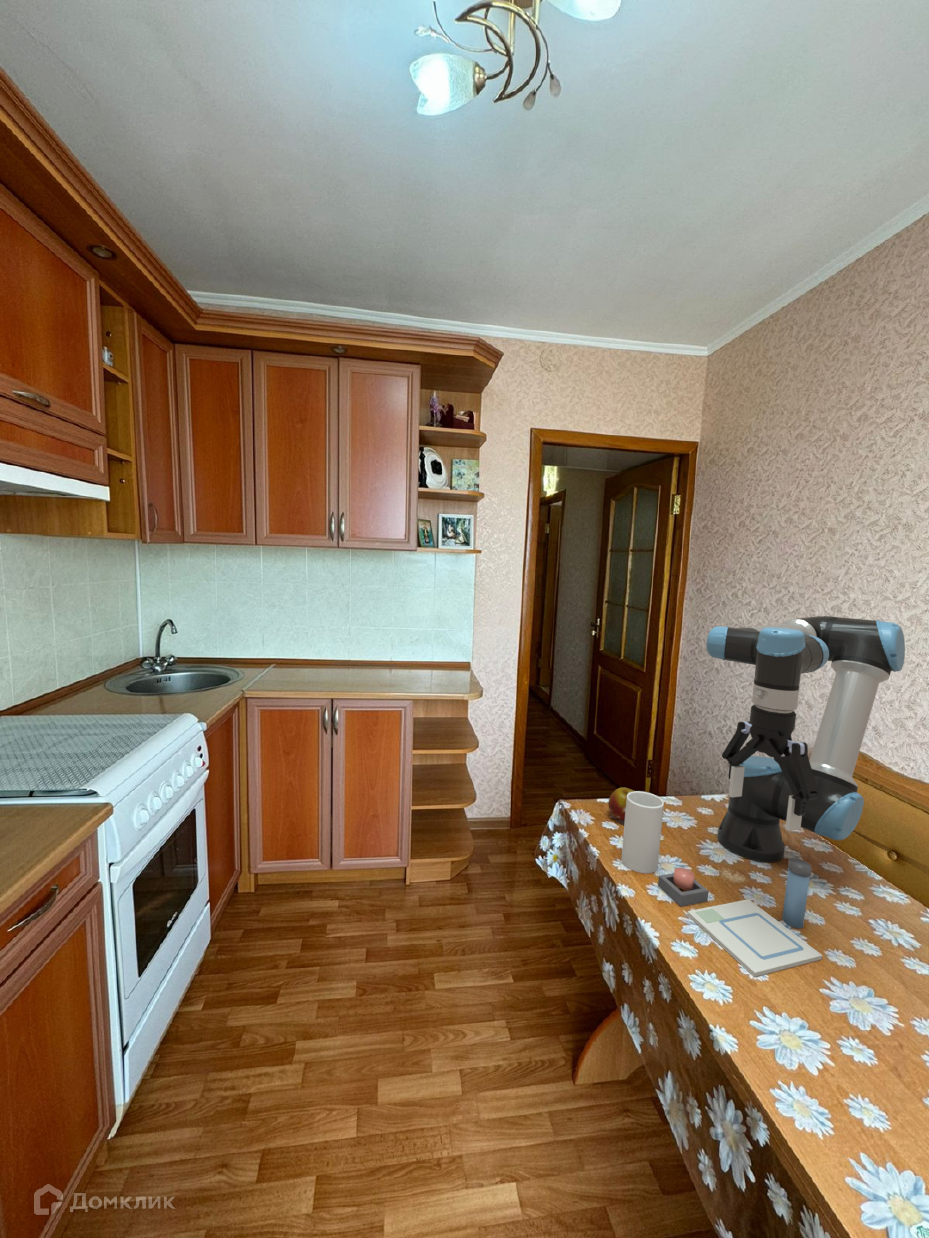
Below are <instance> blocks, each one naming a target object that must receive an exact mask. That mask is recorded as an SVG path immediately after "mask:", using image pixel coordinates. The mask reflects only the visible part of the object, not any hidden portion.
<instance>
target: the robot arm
mask: <svg viewBox="0 0 929 1238" xmlns="http://www.w3.org/2000/svg"><path fill="white" fill-rule="evenodd" d="M705 646H706V652H707V653H708V654H709V656H710V657H711V658H713V659H714V658H715V659H718V660H722V661H728V662H735V663H741V664H746V665H753V666H755V667H754V668H755V670H754V679H753V687H752V698H751V702H752V705H751V706H750V714H749V720H747V721H739V722H737V725H736V726H737V727H736V731H735V733H734V734H733V735H732V738H731V739H730V741H728V744H727V745H726V747H725V748H724V750H723V752H722V754H721V757H722V759H724V760H726V761H727V763H728V765H729V767H728V779H729V786H728V804H727V811H726V813H725V815H724V817H723V818H722V821H721V822H720V824H719V826H718V829H717V836H716V837H717V841H718V842H719V843H720V845H722V847H724V848H726V850H728V851H730V852H731V853H734V854H735V855H738V856H740V857H742V858H746V859H748V860H753V861H755V862H763V863H776V862H779V861H781V860H783V859H784V857H785V850H786V845H785V842H784V840H783V836H782V830H781V825H780V821H784V822H785V831H788V832H794V831H799V830H801V829H805V830H807V831H809V832H812V833H814V834H816V835H818V836H821V837H822V836H823V837H825V838H828V839H831V840H834V841H843V840H845V839H846V838H848V837H849V836H850V835H851V834H852V833H853V831H854V830H855V829H856V827H857V825H858V824H859V821H860V819H861V816H862V814H863V811H864V810H863V807H864V804H865V799H864V797H863V796H862V795H861V794H860V793H859V792H858V788H859V785H858V783H857V782H856V781H855V779H854V778H853V775H854V771H855V768H856V765H857V761H858V758H859V754H860V751H861V747H862V744H863V741H864V737H865V733H866V730H867V727H868V723H869V721H870V718H871V713H872V711H873V710H872V709H873V705H874V703H875V699H876V696H877V692H878V690H879V689H878V688H879V685H880V684H881V683H882V682H886V681H888V680H889V679H890V677H891V674H892V673H891V672H894V673H897V672H900V671H902V670H903V667H904V664H905V655H906V642H905V635H904V631H903V628H902V627H901V626H900V625H899V624H897V623H895V622H889V621H883V620H879V619H875V620H873V619H863V618H850V617H848V618H847V617H840V616H839V617H838V616H830V615H828V616H827V615H825V616H824V615H821V616H819V615H818V616H810V617H808V616H807V617H800V618H792V619H786V620H785V621H783V622H782V623H780V624H770V625H758V626H748V627H739V628H738V627H731V626H730V627H729V626H714V627H713V628H712V629H711V630H710V631H709V633H708V635H707V638H706V645H705ZM828 662H831V664H830V667H831V669H833V671H834V672H835V675H834V678H833V682H832V685H831V688H830V692H829V694H828V699H827V702H826V705H825V709H824V711H823V714H822V718H821V720H820V725H819V728H818V731H817V734H816V738H815V741H814V745H813V747H812V752H811V753H810V758H809V753H808V752H809V751H808V749H809V748H808V747H809V745H808V744H807V743H806V742H805V741H804V742H801V741H800V742H797V741H793V738H792V735H793V734H792V733H793V732H794V731H795V727H796V719H797V713H796V712H795V711H796V710H798V704H799V695H800V694H799V693H800V685H801V678H802V677H801V676H802V675H803V674H809V673H814V672H815V671H817V670H819V669H821V668H823V667H824V666H825V665H826V664H827V663H828ZM749 736H751V739H749V741H747V739H748V738H749ZM746 741H747V742H746ZM744 744H745V745H744ZM743 745H744V746H743ZM757 752H759V753H762V754H765V755H766V756H758V755H754V754H756V753H757ZM783 755H784V756H783Z"/></svg>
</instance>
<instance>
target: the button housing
mask: <svg viewBox="0 0 929 1238" xmlns="http://www.w3.org/2000/svg"><path fill="white" fill-rule="evenodd" d="M673 878H674V872H673V873H672V872H671V873H667V874H660V875H658V882H657V887H659V888H660V889H661V890H662V891H663V892H664V893H665V894H666V895H667V896H668V897H669V898H670V899H672V900H673V901H674V902H675V903H676V904H677V905H678V906H679V907H684V906H689V905H695V904H701V903H705V902H708V901H709V900H708V899H709V890H708V889H707V888H706V887H705V886H703V885H702V884H701V883H700V882H698V881H697V880H696V879H695V878H694V884H693V888H692V889H691V890H685V891H681V890H680V888H679V887H677V886H676V885H675V884H674V883H673Z"/></svg>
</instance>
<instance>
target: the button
mask: <svg viewBox="0 0 929 1238" xmlns="http://www.w3.org/2000/svg"><path fill="white" fill-rule="evenodd" d="M673 873H674V878H673V883H674V884H675V885H676V887H677V888H678V889H682V890H685V891H690V890H691V889H692V888H693V884H694V879H695V873H694V872H693V871H691V870H690V869H688V868H684V867H675V868H674V870H673Z"/></svg>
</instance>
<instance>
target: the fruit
mask: <svg viewBox="0 0 929 1238" xmlns="http://www.w3.org/2000/svg"><path fill="white" fill-rule="evenodd" d="M634 791H635V790H633V789H632V788H631V789H630V788H627V787H619V788H617V789H615V790H614V791H613V792H612V793H611V794H610V795H609V798H608V799H609V800H608V809H609V812H610V813H611V815H612V816H613V817H614V818H616V819H617V820H619V821H623V822H625V812H626V801H627V794H628V793H630V792H634Z"/></svg>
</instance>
